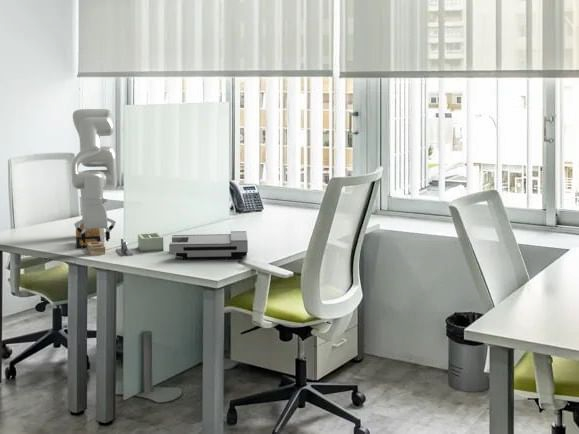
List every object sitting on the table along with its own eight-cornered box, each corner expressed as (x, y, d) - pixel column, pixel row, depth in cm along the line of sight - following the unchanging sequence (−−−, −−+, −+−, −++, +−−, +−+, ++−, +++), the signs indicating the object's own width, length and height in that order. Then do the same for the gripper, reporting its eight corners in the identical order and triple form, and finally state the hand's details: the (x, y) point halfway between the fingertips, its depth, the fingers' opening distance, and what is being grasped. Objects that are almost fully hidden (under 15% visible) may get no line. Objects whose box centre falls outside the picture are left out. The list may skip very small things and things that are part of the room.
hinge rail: (116, 249, 328) (115, 238, 327) (127, 249, 330) (127, 237, 329) (120, 256, 316) (120, 244, 315) (132, 255, 318) (132, 243, 317)
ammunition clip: (76, 248, 331) (74, 221, 328) (76, 247, 332) (74, 221, 330) (101, 247, 333) (100, 220, 331) (101, 246, 335) (100, 220, 333)
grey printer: (173, 250, 328) (172, 232, 327) (246, 249, 331) (246, 231, 329) (169, 261, 308) (169, 242, 306) (247, 260, 310) (247, 241, 309)
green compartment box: (138, 247, 333) (137, 234, 332) (158, 245, 337) (157, 232, 336) (142, 252, 323) (142, 238, 322) (163, 250, 326) (163, 237, 325)
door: (87, 249, 329) (87, 242, 329) (101, 248, 331) (101, 241, 331) (91, 255, 317) (90, 248, 317) (105, 254, 320) (105, 247, 319)
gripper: (113, 200, 327) (114, 238, 330) (72, 202, 321) (74, 241, 323) (116, 202, 320) (117, 241, 323) (74, 204, 314) (76, 244, 316)
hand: (95, 241), depth 323 cm, fingers open, 9 cm apart
